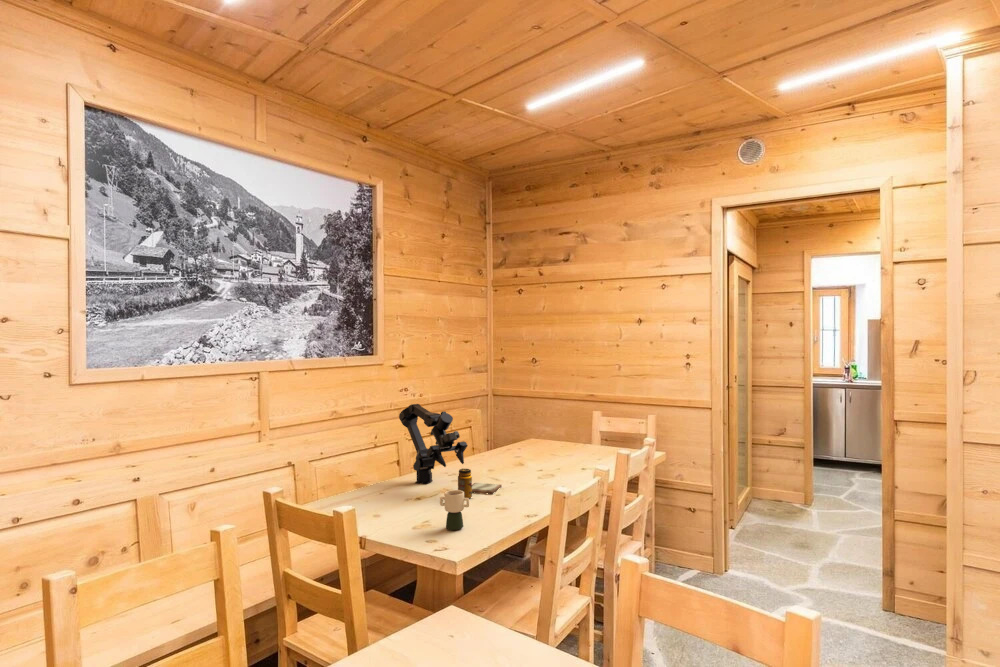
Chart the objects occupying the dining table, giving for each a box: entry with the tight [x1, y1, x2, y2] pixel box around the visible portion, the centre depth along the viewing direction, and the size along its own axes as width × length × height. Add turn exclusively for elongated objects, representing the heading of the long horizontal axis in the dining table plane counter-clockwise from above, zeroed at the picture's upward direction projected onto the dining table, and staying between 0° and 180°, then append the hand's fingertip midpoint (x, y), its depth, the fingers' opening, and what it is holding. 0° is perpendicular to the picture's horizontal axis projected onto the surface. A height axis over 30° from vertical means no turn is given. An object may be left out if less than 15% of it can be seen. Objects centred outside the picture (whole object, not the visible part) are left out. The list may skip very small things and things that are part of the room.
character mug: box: [439, 489, 470, 531], centre depth 205 cm, size 11×7×13 cm, turn 78°
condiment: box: [457, 468, 473, 498], centre depth 246 cm, size 7×8×12 cm
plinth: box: [472, 482, 503, 495], centre depth 259 cm, size 13×13×2 cm
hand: (454, 465), depth 252 cm, fingers open, 9 cm apart
